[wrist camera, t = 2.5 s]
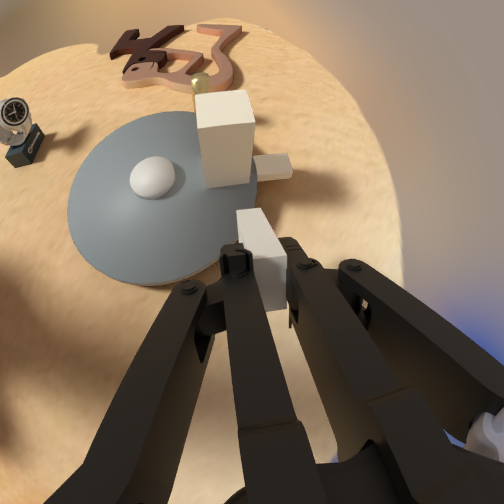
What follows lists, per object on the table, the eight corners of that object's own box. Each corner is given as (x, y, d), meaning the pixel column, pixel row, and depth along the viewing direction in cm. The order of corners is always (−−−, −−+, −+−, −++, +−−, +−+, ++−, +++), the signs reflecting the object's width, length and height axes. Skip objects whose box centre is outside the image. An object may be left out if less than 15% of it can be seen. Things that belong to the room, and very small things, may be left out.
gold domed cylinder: (195, 126, 30) (189, 82, 24) (196, 115, 31) (191, 73, 24) (211, 125, 30) (208, 81, 24) (212, 115, 31) (209, 71, 24)
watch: (40, 161, 28) (3, 113, 18) (8, 169, 27) (-27, 129, 17) (53, 132, 30) (23, 84, 19) (21, 142, 29) (-9, 100, 19)
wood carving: (127, 37, 40) (69, 102, 33) (126, 30, 38) (65, 94, 31) (252, 35, 41) (226, 99, 33) (253, 26, 39) (226, 88, 31)
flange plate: (68, 297, 21) (6, 272, 13) (85, 139, 27) (57, 88, 19) (313, 260, 24) (354, 215, 15) (267, 106, 30) (276, 46, 21)
